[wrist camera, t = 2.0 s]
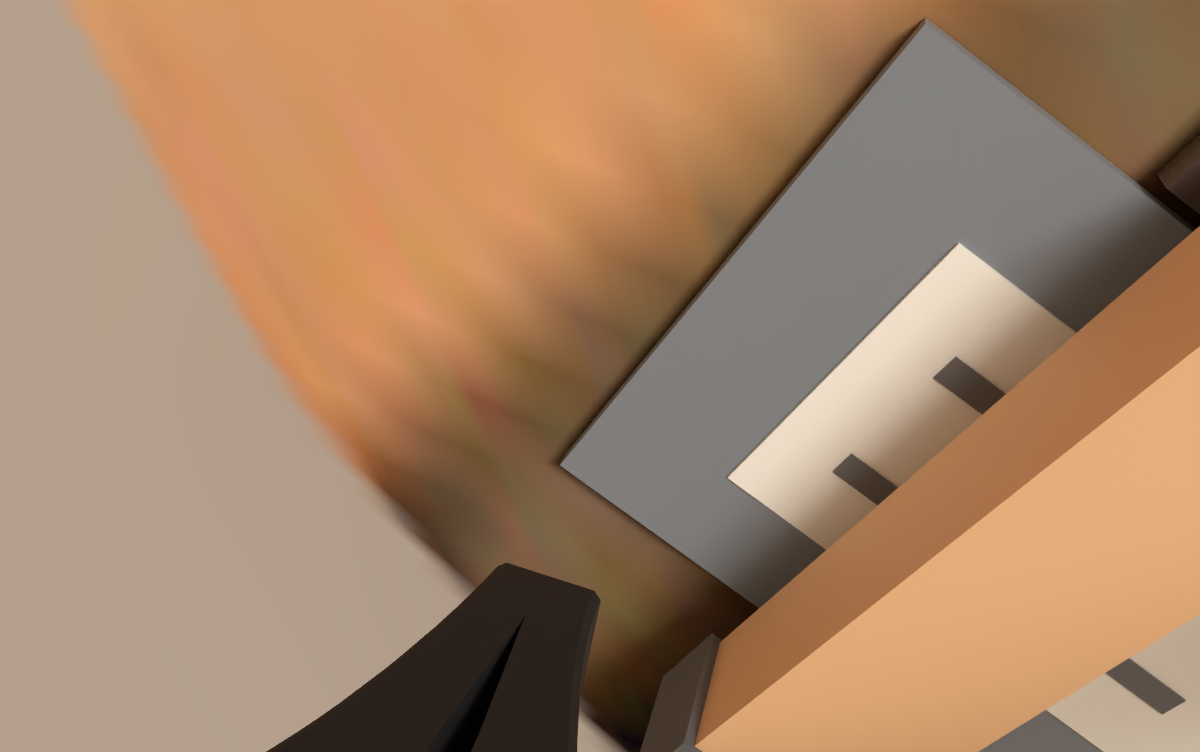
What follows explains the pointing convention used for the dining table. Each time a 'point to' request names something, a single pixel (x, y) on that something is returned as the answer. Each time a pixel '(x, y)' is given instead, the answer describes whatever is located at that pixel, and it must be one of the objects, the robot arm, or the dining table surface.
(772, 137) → the dining table surface
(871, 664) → the tan wooden bar
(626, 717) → the dining table surface
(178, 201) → the dining table surface
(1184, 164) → the arm mount
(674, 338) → the label plate
